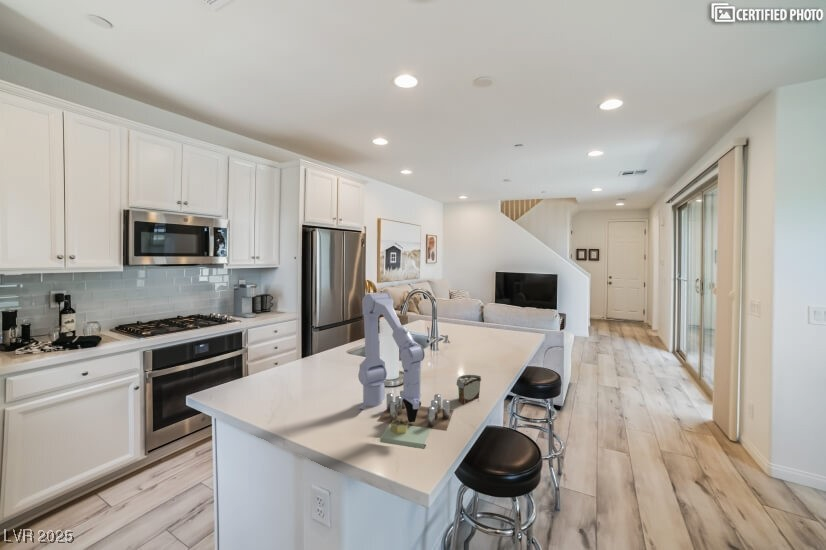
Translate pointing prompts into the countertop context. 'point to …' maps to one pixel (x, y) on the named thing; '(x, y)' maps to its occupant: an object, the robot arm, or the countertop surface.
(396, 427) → the nut
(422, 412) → the board
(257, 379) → the countertop surface
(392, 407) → the spacers
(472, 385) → the food container
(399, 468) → the countertop surface
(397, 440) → the pad
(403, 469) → the countertop surface
